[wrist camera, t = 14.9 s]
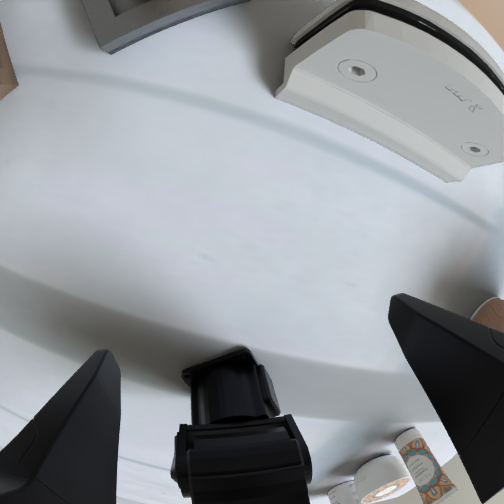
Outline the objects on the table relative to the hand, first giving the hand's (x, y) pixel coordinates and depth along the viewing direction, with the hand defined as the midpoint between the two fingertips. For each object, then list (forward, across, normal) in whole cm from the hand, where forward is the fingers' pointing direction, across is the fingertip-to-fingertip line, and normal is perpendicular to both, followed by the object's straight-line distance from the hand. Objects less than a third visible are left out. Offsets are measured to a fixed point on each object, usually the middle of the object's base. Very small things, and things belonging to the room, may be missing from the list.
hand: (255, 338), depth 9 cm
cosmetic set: (+13, -18, +48) cm, 53 cm away
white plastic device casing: (+13, -13, -7) cm, 20 cm away
